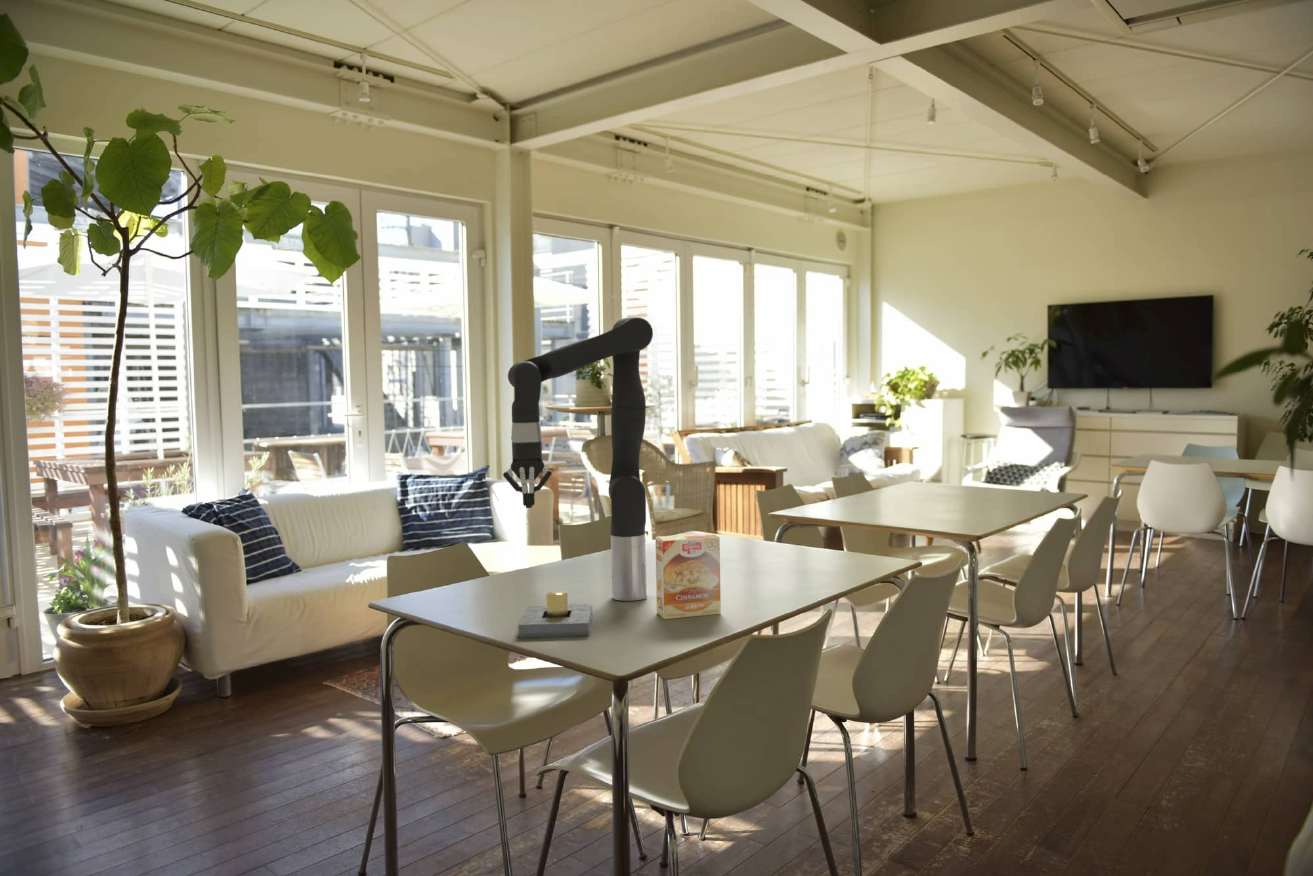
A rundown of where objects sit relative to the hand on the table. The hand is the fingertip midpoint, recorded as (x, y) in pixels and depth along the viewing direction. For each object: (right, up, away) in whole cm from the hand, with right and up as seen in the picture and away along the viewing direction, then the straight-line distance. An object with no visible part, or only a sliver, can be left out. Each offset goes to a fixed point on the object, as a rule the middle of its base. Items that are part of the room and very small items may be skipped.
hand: (529, 507), depth 236 cm
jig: (+9, -27, -16) cm, 33 cm away
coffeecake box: (+41, -26, -6) cm, 49 cm away
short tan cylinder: (+9, -27, -16) cm, 33 cm away
